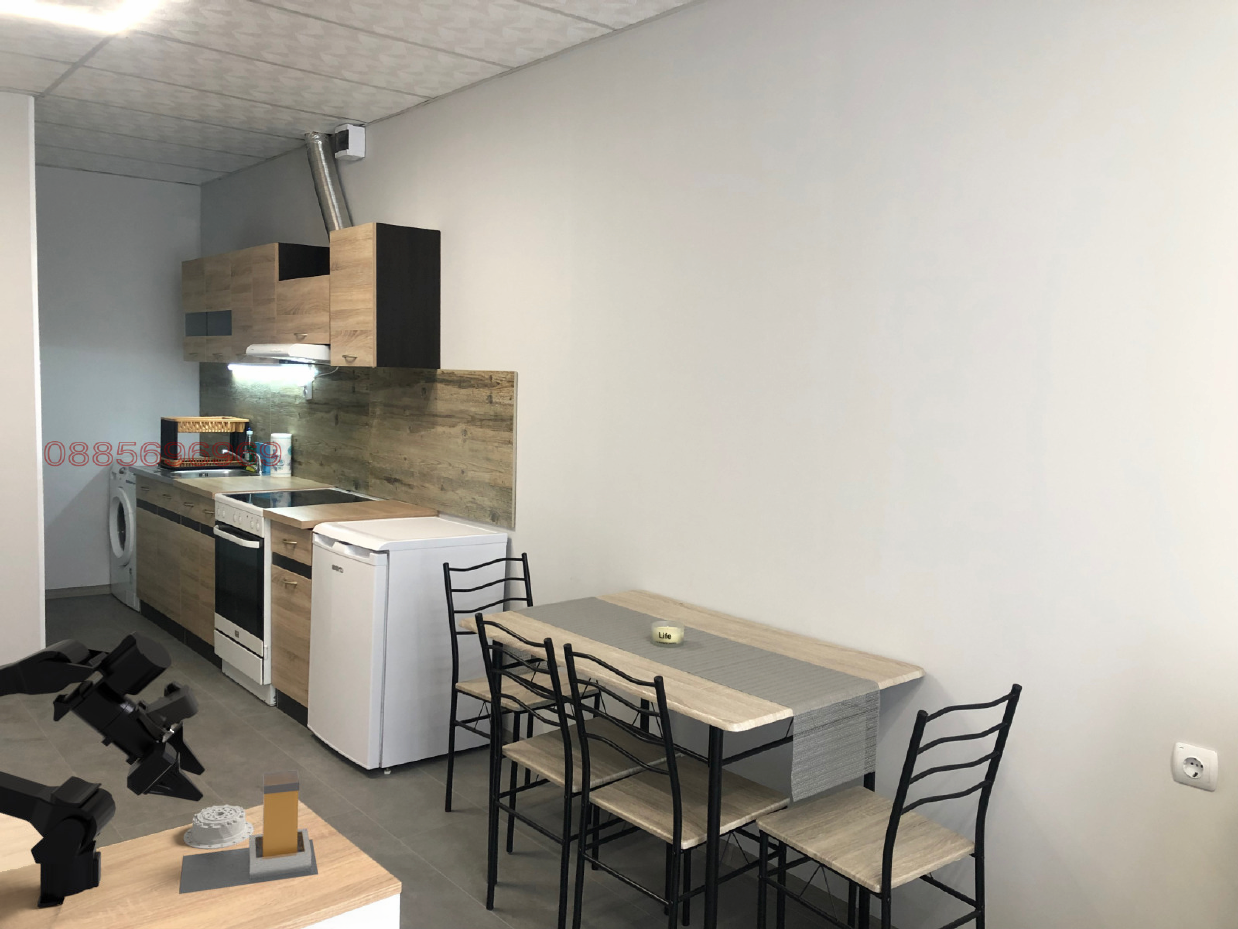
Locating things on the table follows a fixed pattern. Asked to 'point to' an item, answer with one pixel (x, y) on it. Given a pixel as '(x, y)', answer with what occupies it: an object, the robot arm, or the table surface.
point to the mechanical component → (218, 828)
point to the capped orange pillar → (280, 812)
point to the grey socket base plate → (246, 865)
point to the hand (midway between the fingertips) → (201, 785)
